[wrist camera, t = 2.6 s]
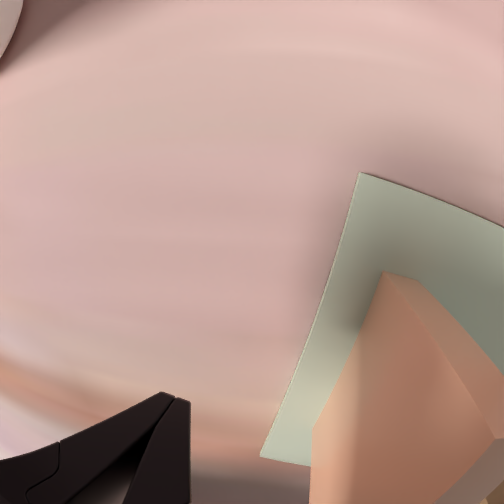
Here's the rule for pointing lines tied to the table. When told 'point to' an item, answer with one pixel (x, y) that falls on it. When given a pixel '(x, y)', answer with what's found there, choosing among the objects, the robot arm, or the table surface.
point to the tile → (410, 409)
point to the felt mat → (365, 283)
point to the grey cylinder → (8, 21)
